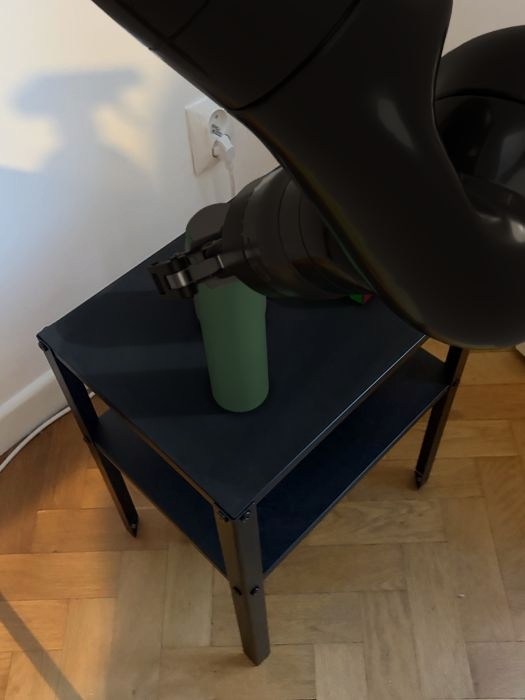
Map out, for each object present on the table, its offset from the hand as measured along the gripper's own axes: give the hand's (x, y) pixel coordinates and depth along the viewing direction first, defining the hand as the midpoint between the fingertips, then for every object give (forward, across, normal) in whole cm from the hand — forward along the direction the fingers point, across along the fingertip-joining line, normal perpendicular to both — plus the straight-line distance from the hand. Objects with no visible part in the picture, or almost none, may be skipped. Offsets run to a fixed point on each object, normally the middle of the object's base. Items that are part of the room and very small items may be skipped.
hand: (227, 248), depth 55 cm
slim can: (+14, 0, +14) cm, 20 cm away
